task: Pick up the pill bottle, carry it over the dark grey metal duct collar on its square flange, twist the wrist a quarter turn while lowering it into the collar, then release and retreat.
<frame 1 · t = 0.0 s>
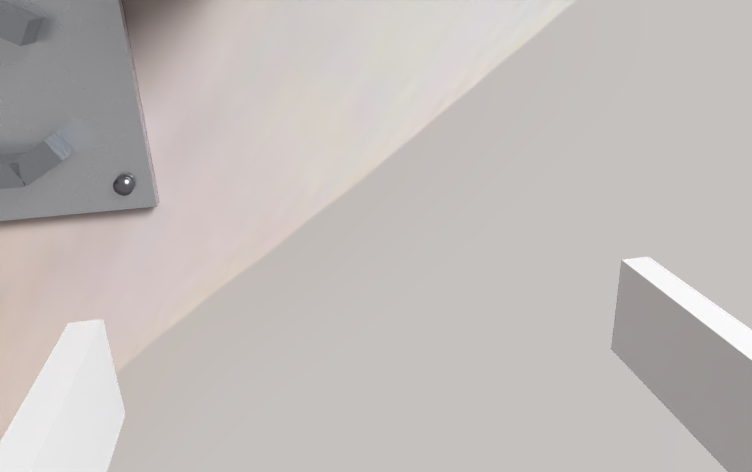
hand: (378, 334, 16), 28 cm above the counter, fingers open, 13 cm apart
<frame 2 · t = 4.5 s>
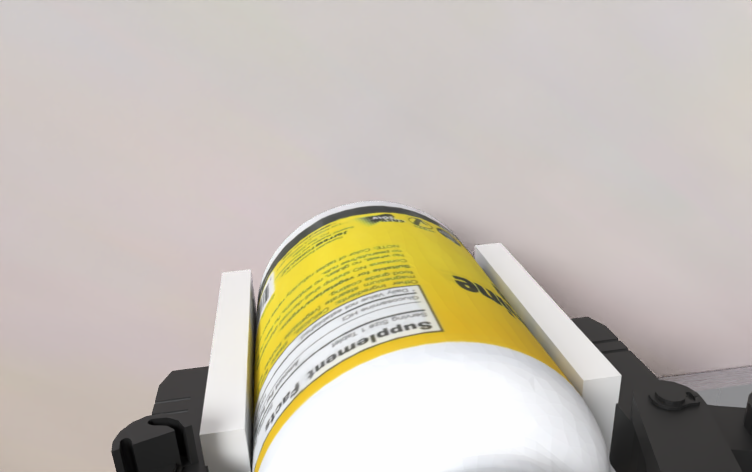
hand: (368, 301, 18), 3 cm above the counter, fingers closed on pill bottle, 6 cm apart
pill bottle: (365, 292, 18), point 2 cm above the counter, touching gripper
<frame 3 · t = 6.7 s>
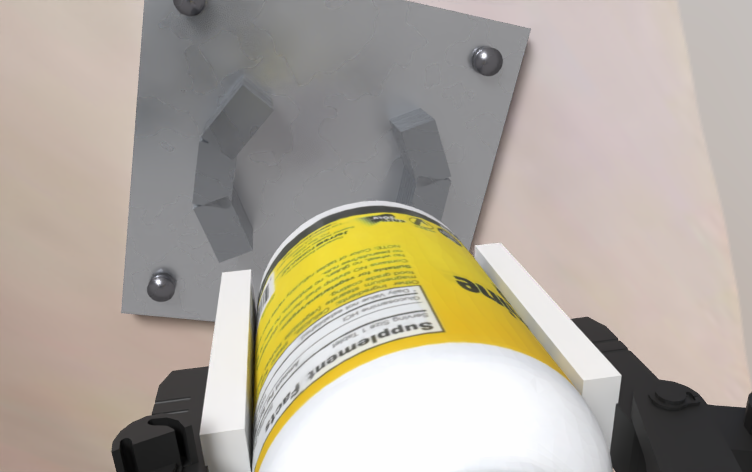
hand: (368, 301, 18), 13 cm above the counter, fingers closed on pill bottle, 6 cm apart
pill bottle: (366, 292, 18), point 12 cm above the counter, touching gripper
duct collar: (318, 168, 29), on the counter
when the fingers open (3 cm above the counter, at t = 9.3 s): pill bottle drops 2 cm, resting on duct collar.
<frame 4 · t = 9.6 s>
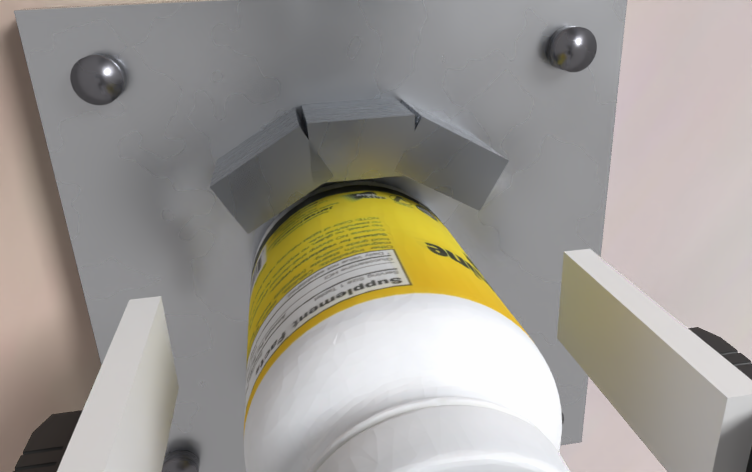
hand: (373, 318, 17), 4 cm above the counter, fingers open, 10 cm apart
pill bottle: (352, 268, 19), point 1 cm above the counter, touching duct collar
duct collar: (354, 259, 20), on the counter
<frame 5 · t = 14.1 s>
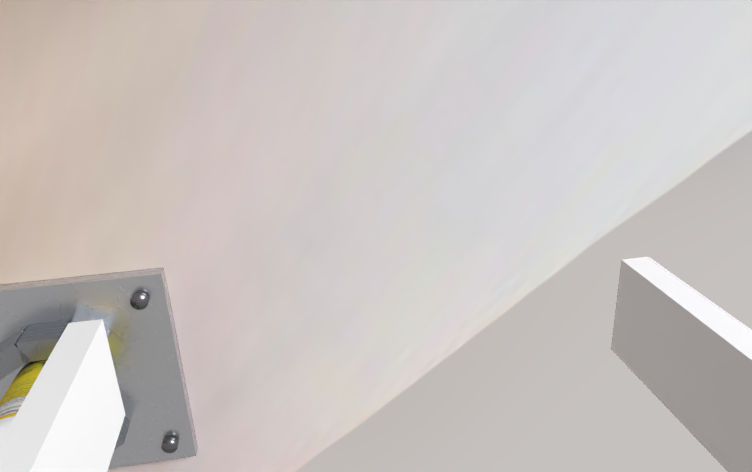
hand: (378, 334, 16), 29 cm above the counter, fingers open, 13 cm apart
pill bottle: (65, 382, 46), point 1 cm above the counter, touching duct collar
duct collar: (70, 377, 46), on the counter
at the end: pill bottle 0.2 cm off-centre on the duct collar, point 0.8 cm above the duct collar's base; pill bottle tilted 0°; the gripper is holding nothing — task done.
